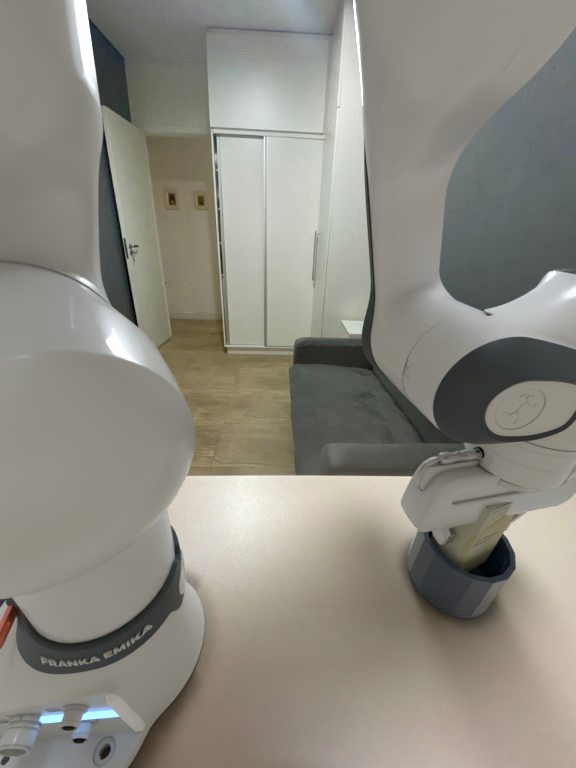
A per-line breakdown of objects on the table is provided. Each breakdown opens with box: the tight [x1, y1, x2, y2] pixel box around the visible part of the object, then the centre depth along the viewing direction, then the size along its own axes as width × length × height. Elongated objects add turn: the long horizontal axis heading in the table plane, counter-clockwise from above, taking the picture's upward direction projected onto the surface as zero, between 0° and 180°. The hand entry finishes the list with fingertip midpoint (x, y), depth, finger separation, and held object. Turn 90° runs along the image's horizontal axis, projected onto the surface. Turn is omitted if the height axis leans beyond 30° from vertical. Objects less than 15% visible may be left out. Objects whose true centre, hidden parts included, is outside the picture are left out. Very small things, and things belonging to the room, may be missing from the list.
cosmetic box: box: [431, 502, 514, 572], centre depth 37 cm, size 6×4×12 cm
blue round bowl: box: [406, 528, 517, 619], centre depth 40 cm, size 10×10×8 cm
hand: (468, 532), depth 37 cm, fingers closed on cosmetic box, 6 cm apart
